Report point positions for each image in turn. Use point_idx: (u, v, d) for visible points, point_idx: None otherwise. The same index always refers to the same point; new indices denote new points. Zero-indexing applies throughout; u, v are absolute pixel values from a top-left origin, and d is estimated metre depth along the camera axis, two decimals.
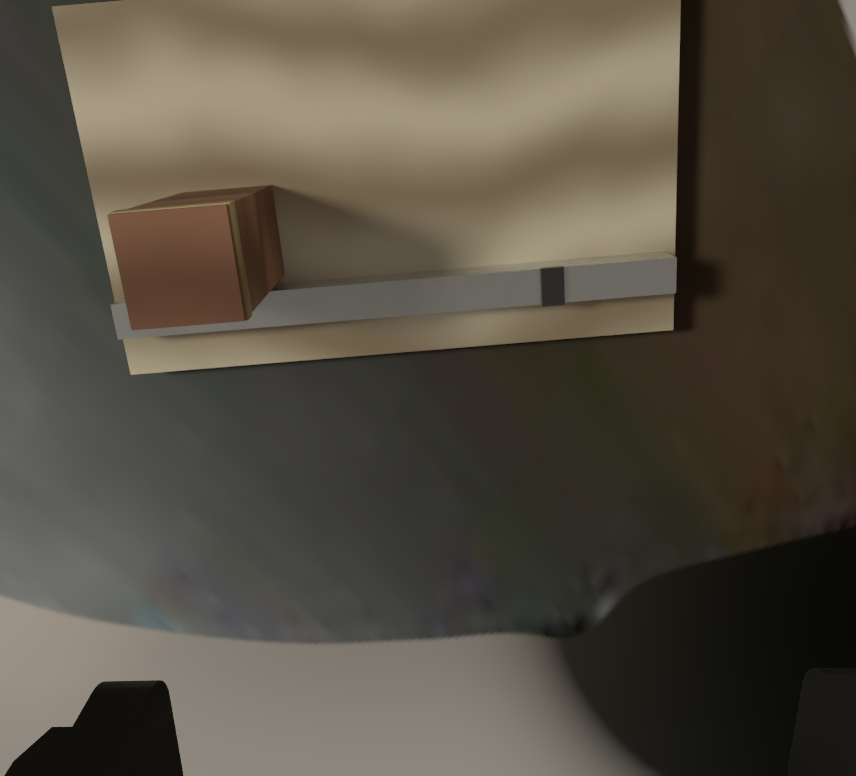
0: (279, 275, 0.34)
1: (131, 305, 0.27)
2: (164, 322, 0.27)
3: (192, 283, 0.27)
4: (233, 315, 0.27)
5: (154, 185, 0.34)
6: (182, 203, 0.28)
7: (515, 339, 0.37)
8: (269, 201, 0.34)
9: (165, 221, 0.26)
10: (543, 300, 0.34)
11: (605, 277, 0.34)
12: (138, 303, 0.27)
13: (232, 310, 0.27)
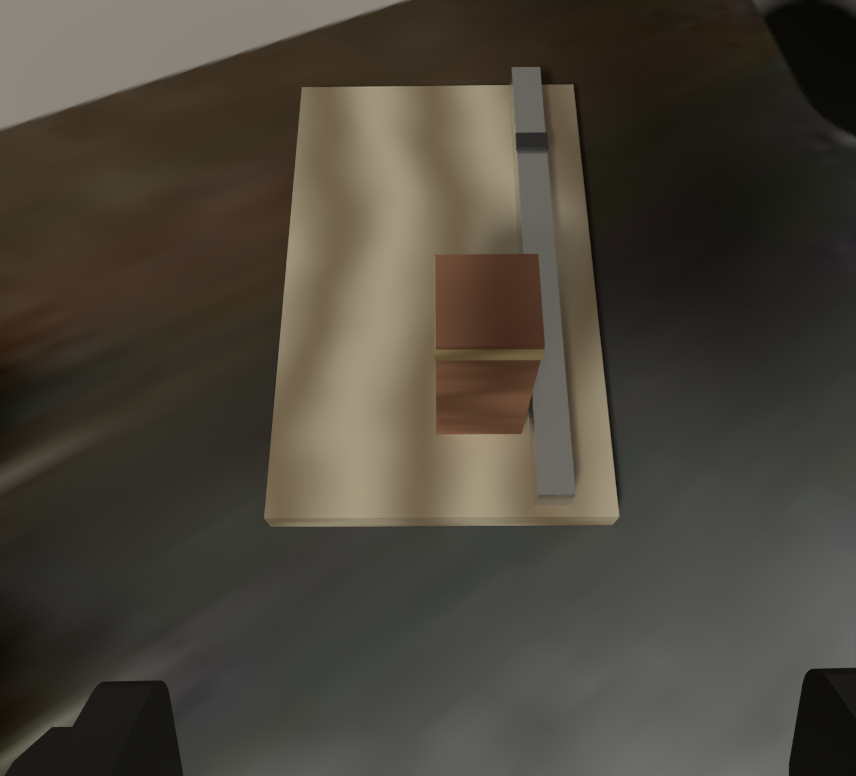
0: None
1: (520, 341, 0.29)
2: (537, 316, 0.29)
3: (501, 288, 0.29)
4: (532, 261, 0.30)
5: (428, 458, 0.36)
6: None
7: (581, 187, 0.43)
8: None
9: (445, 301, 0.29)
10: (543, 145, 0.41)
11: (526, 109, 0.43)
12: (518, 334, 0.29)
13: (528, 262, 0.30)
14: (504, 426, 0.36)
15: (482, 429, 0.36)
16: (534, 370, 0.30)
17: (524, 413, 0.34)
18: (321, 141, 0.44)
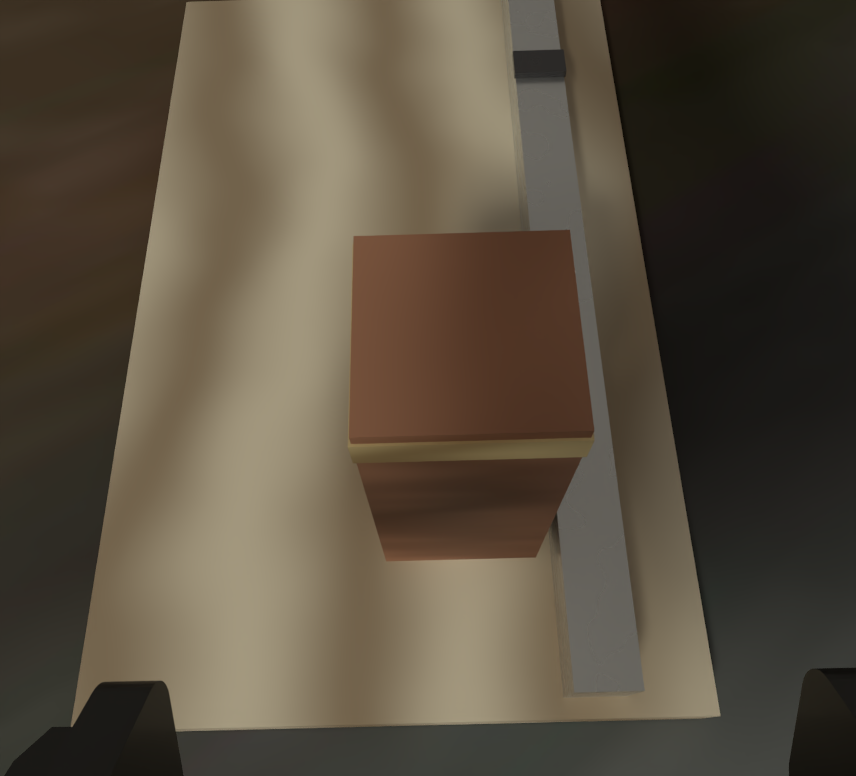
0: None
1: (539, 422, 0.13)
2: (575, 364, 0.13)
3: (495, 305, 0.14)
4: (558, 245, 0.14)
5: (371, 606, 0.20)
6: None
7: (618, 138, 0.27)
8: None
9: (372, 335, 0.13)
10: (557, 69, 0.26)
11: (528, 17, 0.27)
12: (534, 407, 0.13)
13: (549, 247, 0.14)
14: (506, 549, 0.20)
15: (467, 553, 0.20)
16: (567, 473, 0.15)
17: (543, 533, 0.19)
18: (211, 78, 0.28)
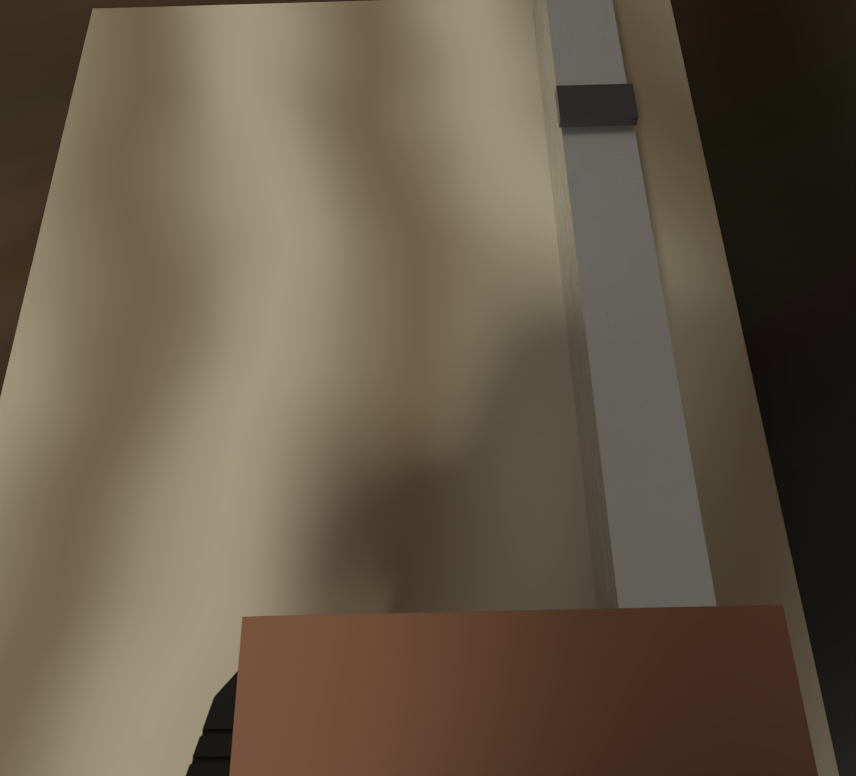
0: None
1: None
2: None
3: None
4: (761, 655, 0.06)
5: None
6: None
7: (708, 212, 0.18)
8: None
9: None
10: (625, 115, 0.17)
11: (577, 34, 0.18)
12: None
13: (735, 658, 0.06)
14: None
15: None
16: None
17: None
18: (118, 119, 0.20)
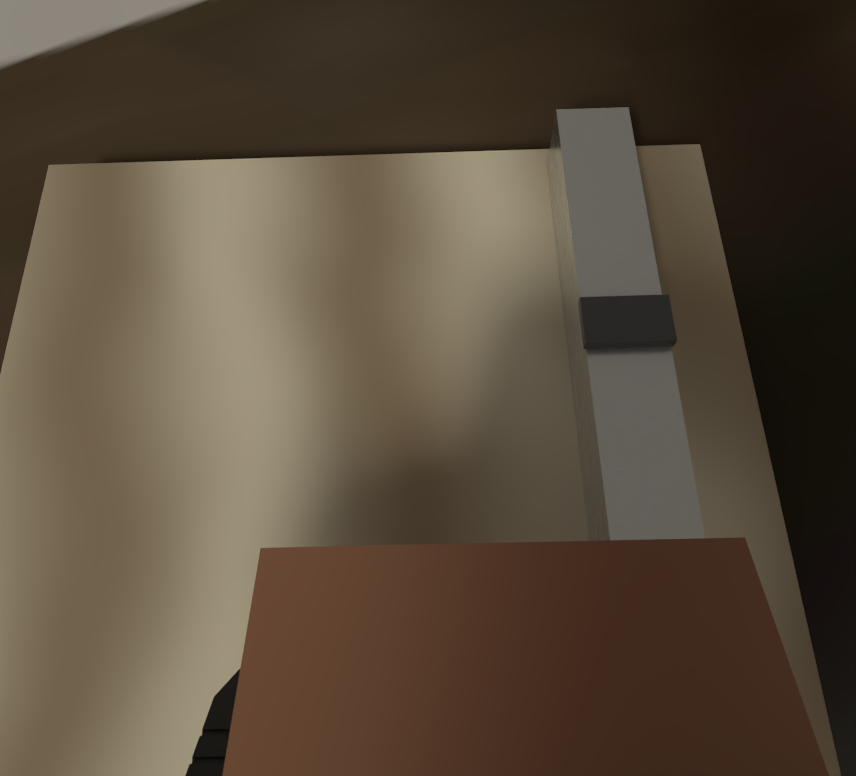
0: None
1: None
2: None
3: (597, 737, 0.05)
4: (728, 574, 0.06)
5: None
6: None
7: (755, 429, 0.16)
8: None
9: None
10: (661, 337, 0.14)
11: (602, 224, 0.16)
12: None
13: (706, 578, 0.06)
14: None
15: None
16: None
17: None
18: (75, 307, 0.17)
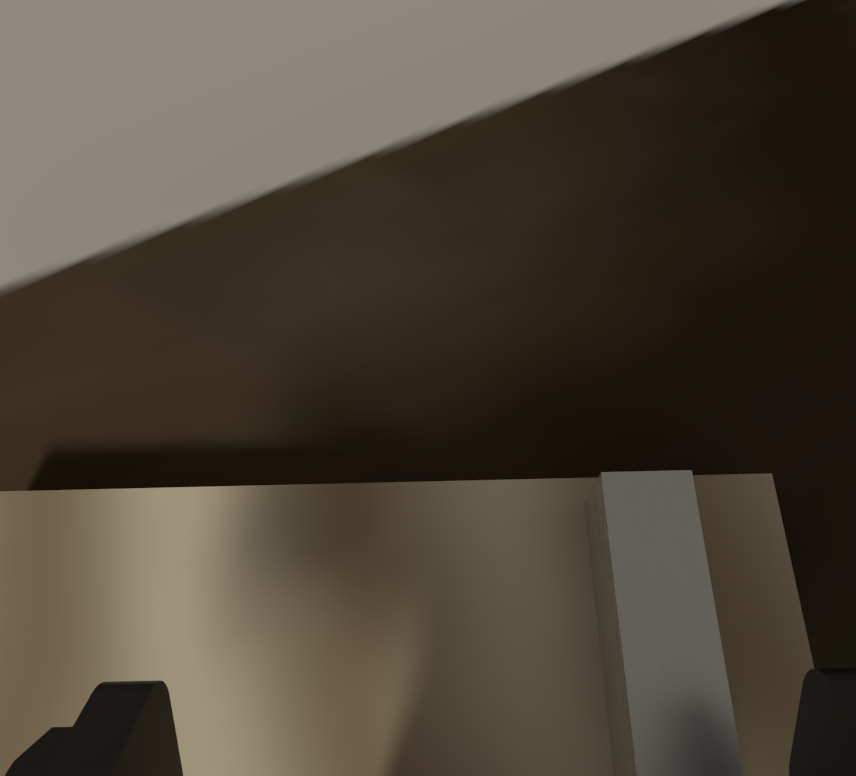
0: None
1: None
2: None
3: None
4: None
5: None
6: None
7: None
8: None
9: None
10: None
11: (663, 659, 0.12)
12: None
13: None
14: None
15: None
16: None
17: None
18: None
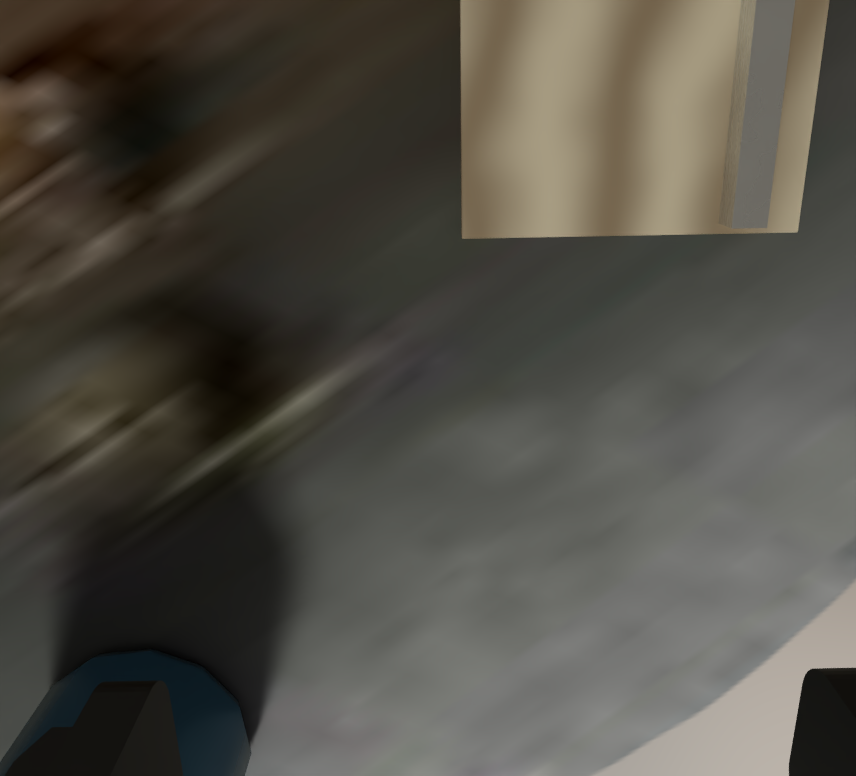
0: None
1: None
2: None
3: None
4: None
5: (620, 174, 0.36)
6: None
7: None
8: None
9: None
10: None
11: None
12: None
13: None
14: None
15: None
16: None
17: None
18: None
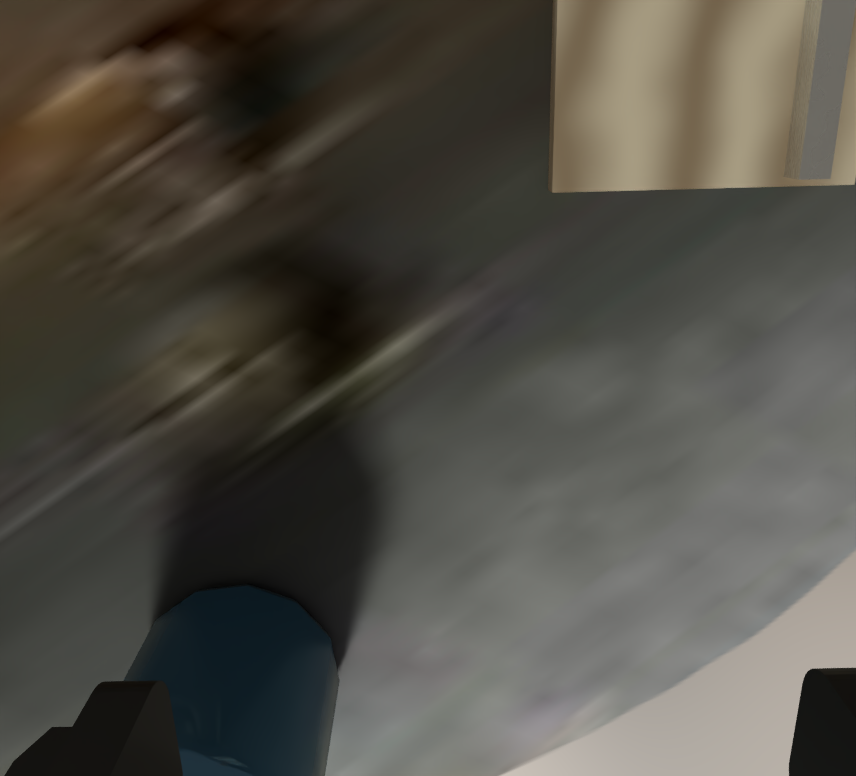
0: None
1: None
2: None
3: None
4: None
5: (696, 133, 0.40)
6: None
7: None
8: None
9: None
10: None
11: None
12: None
13: None
14: None
15: None
16: None
17: None
18: None
